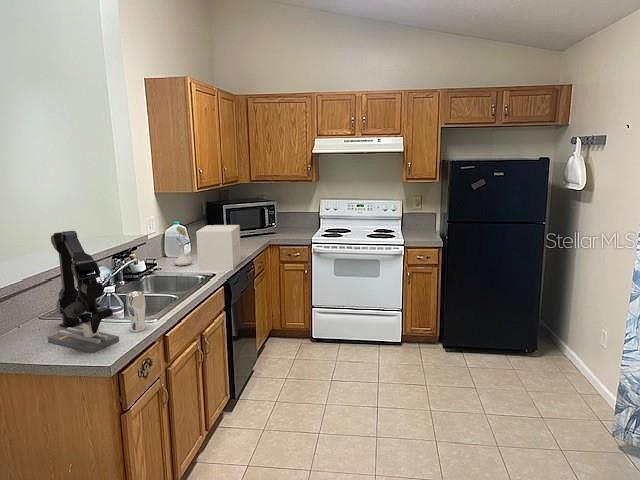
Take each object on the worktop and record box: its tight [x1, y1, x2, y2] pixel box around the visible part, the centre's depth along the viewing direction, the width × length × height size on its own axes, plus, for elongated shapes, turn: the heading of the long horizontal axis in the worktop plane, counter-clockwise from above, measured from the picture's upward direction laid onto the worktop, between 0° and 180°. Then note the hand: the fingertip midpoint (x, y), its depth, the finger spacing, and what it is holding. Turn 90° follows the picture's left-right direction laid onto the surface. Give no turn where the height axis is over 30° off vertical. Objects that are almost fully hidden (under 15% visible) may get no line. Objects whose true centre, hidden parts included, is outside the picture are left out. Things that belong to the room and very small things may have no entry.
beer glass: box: [126, 291, 147, 333], centre depth 184 cm, size 7×7×15 cm
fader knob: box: [82, 321, 100, 338], centre depth 170 cm, size 3×4×6 cm
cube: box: [195, 224, 242, 271], centre depth 289 cm, size 25×21×24 cm
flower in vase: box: [173, 225, 193, 266], centre depth 292 cm, size 13×11×25 cm
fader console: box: [47, 326, 120, 354], centre depth 173 cm, size 24×12×3 cm, turn 64°
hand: (91, 332), depth 170 cm, fingers closed on fader knob, 3 cm apart
